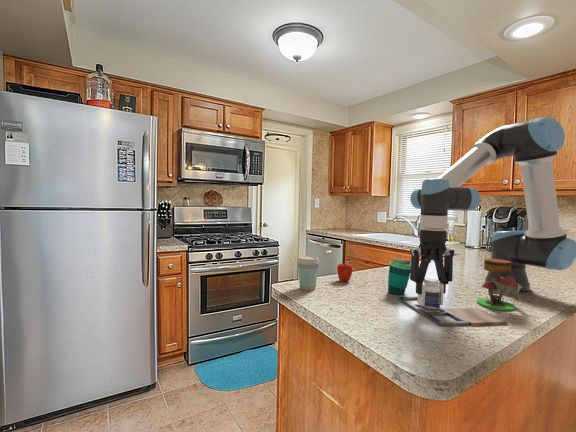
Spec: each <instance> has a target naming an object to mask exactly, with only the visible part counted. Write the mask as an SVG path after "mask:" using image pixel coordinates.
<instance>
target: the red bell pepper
mask: <svg viewBox="0 0 576 432" xmlns="http://www.w3.org/2000/svg"><path fill="white" fill-rule="evenodd" d="M336 268H337V269H336V270H337V277H338V279H339V282H342V283H348V282H350V280H351V277H352V274H353V267H352V264H349V263H339V264H337V267H336Z"/></svg>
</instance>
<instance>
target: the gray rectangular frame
mask: <svg viewBox="0 0 576 432" xmlns="http://www.w3.org/2000/svg"><path fill="white" fill-rule="evenodd" d="M417 299H418V296H397V300H398V301H399V302H401V303H403V304H404V305H406V306H407V307H409V308H411V309H412V310H413V311H416V313H418V314H420V315H422V316H423V317H424V318H427V319H428V320H430V321H431V322H433V323H434V324H436V325H437V326H439V327H454V326H455V327H459V326H460V327H462V326H471V325H470V324H471V322H469V321H467V320H465V319H463V318H462V317H460V316H458V315H456V314H454V313H452V312H450V311H448V310H446V309H447V308H444V307H443V306H442V305H440V310H439V312H425V311H424V310H422V309H420V304H418V303H411V302H410V301H414V300H415V301H417ZM435 316H437V317H435ZM438 316H449V317H451V318H452V319H454V321H453V320H452V321H443V320H442V321H441V319H438Z"/></svg>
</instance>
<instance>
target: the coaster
mask: <svg viewBox="0 0 576 432" xmlns="http://www.w3.org/2000/svg"><path fill="white" fill-rule="evenodd" d="M445 309H446V310H448V311H450V312H452V313H454V314H456V315H458V316H460V317H462V318H463V319H465V320H467V321H469V322H471V324H470V325H469V326H471V327H478V326H479V327H480V326H501V325H508V321H507V320H506V319H503V318H501V317H498V316H497V315H494V314H492V313H490V312H487V311H485V310H483V309H481V308H479V307H464V308H462V307H460V308H459V307H458V308H445Z"/></svg>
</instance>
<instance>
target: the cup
mask: <svg viewBox="0 0 576 432" xmlns="http://www.w3.org/2000/svg"><path fill="white" fill-rule="evenodd" d="M388 265H389V267H388V268H389V270H388V278H387V279H388V280H387V285H388V286H387V291H388V293H389V294H392V295H395V296H403V295H405V292H406V289H407V288H408V284H409V281H410V270H411V260H407V259H398V258H397V259H392V260H391V261H389V262H388Z"/></svg>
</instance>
